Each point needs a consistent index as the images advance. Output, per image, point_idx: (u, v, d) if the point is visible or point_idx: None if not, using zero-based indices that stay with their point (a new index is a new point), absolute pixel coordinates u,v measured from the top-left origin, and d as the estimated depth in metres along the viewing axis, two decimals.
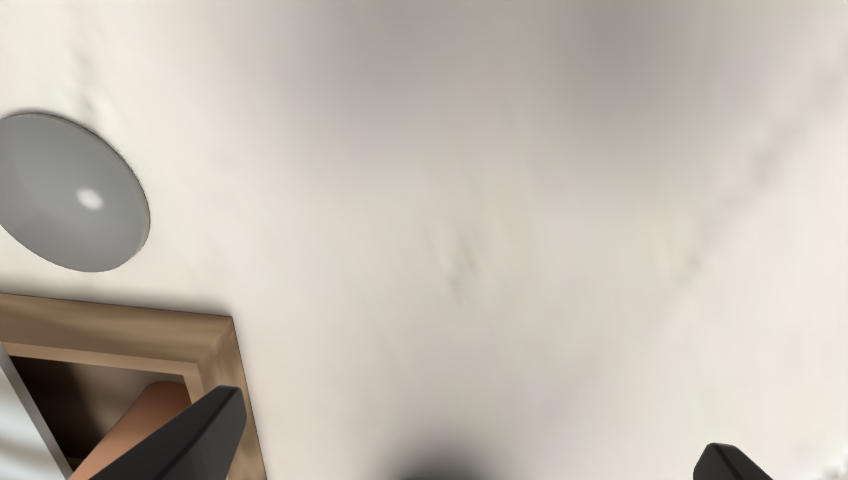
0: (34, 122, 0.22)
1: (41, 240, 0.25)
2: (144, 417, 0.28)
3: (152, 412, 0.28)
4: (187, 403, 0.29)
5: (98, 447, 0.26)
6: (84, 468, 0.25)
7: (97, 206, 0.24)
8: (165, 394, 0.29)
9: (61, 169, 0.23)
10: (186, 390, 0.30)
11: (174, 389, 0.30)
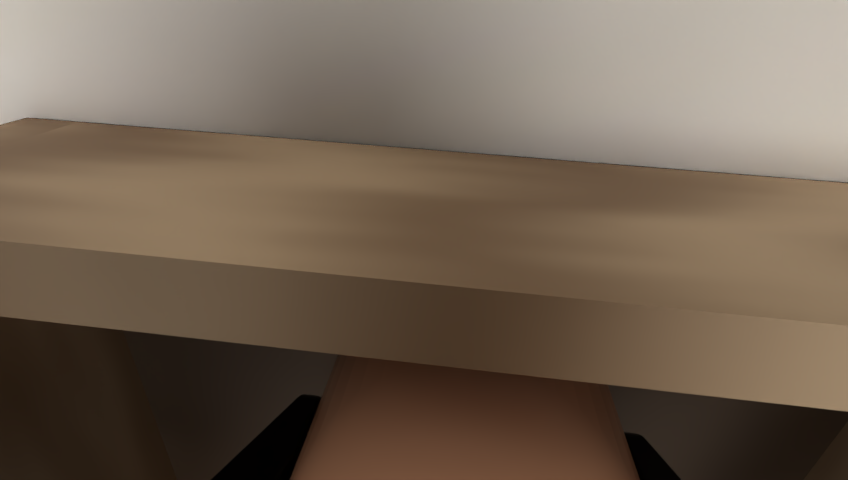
0: None
1: None
2: None
3: None
4: (346, 357, 0.08)
5: None
6: None
7: None
8: None
9: None
10: None
11: None
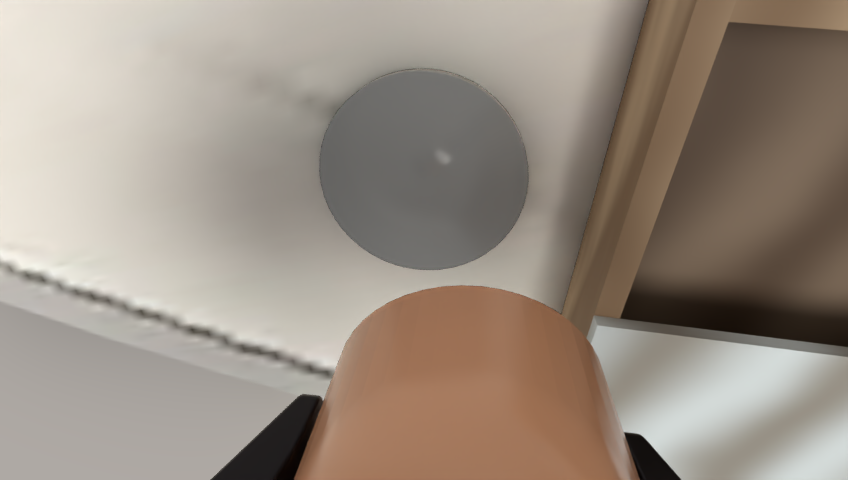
0: (323, 162, 0.19)
1: (475, 229, 0.20)
2: None
3: None
4: (347, 361, 0.08)
5: None
6: None
7: (425, 130, 0.18)
8: None
9: (378, 156, 0.19)
10: (344, 349, 0.09)
11: None
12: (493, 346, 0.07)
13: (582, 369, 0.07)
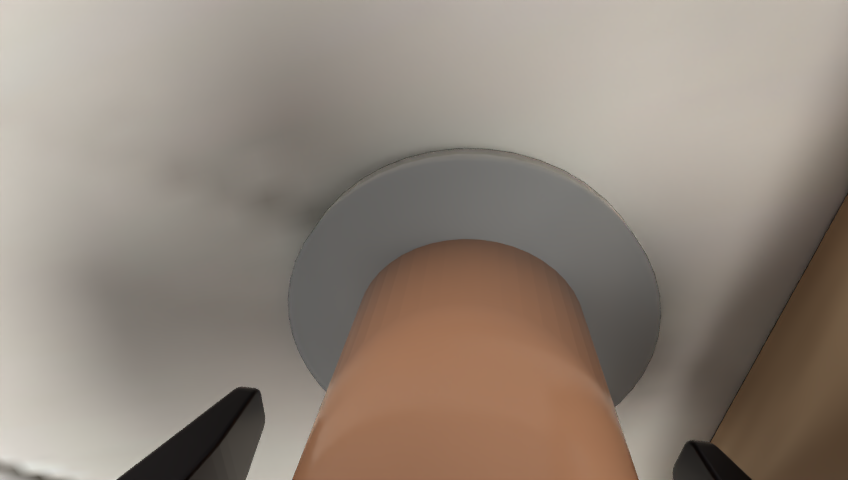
0: (295, 303, 0.11)
1: None
2: None
3: None
4: (369, 300, 0.09)
5: None
6: None
7: None
8: None
9: None
10: (364, 295, 0.10)
11: None
12: (489, 280, 0.08)
13: (563, 303, 0.09)
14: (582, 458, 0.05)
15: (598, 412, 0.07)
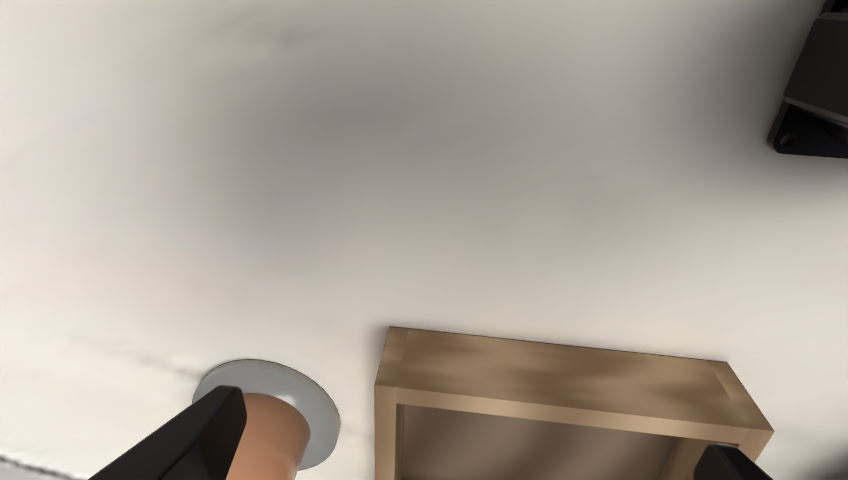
0: None
1: (308, 450, 0.28)
2: None
3: None
4: None
5: None
6: None
7: None
8: None
9: None
10: None
11: None
12: (249, 415, 0.24)
13: (280, 420, 0.25)
14: (242, 478, 0.21)
15: (263, 464, 0.22)
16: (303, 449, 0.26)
